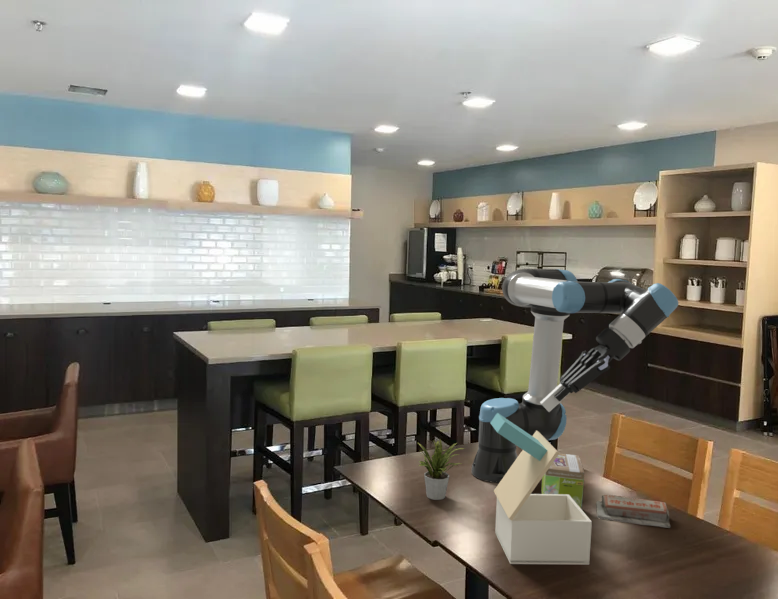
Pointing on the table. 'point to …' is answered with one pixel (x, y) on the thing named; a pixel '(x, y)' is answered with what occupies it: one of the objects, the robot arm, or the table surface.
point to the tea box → (565, 477)
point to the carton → (545, 531)
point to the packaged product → (633, 510)
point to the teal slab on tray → (522, 465)
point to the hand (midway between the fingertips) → (544, 407)
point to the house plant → (437, 471)
